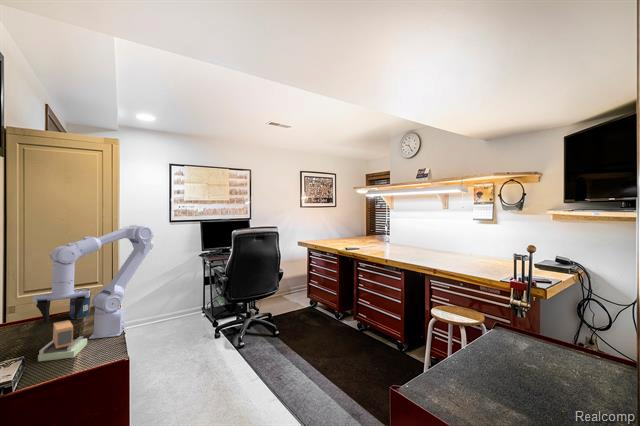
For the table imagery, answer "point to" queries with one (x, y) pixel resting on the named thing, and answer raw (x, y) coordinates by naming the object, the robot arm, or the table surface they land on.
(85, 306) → the soda can
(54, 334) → the tan tapered column
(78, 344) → the green rimmed tray
